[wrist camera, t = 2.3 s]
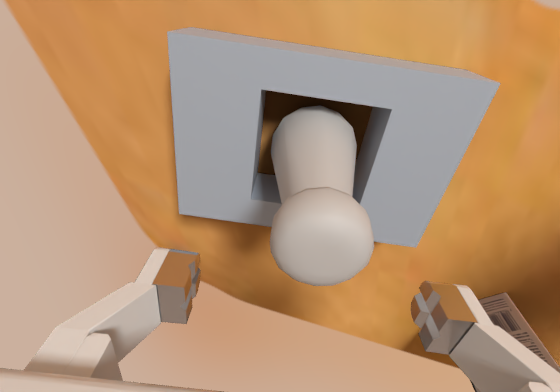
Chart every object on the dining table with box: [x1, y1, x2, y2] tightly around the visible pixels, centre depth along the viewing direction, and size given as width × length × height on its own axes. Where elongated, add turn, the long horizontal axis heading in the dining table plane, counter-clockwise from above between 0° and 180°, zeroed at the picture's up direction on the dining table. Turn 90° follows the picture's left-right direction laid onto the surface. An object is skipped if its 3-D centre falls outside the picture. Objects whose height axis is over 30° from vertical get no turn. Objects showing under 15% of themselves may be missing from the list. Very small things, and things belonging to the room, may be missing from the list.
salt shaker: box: [270, 105, 374, 286], centre depth 17 cm, size 6×6×13 cm
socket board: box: [167, 27, 500, 247], centre depth 21 cm, size 18×12×4 cm, turn 82°
